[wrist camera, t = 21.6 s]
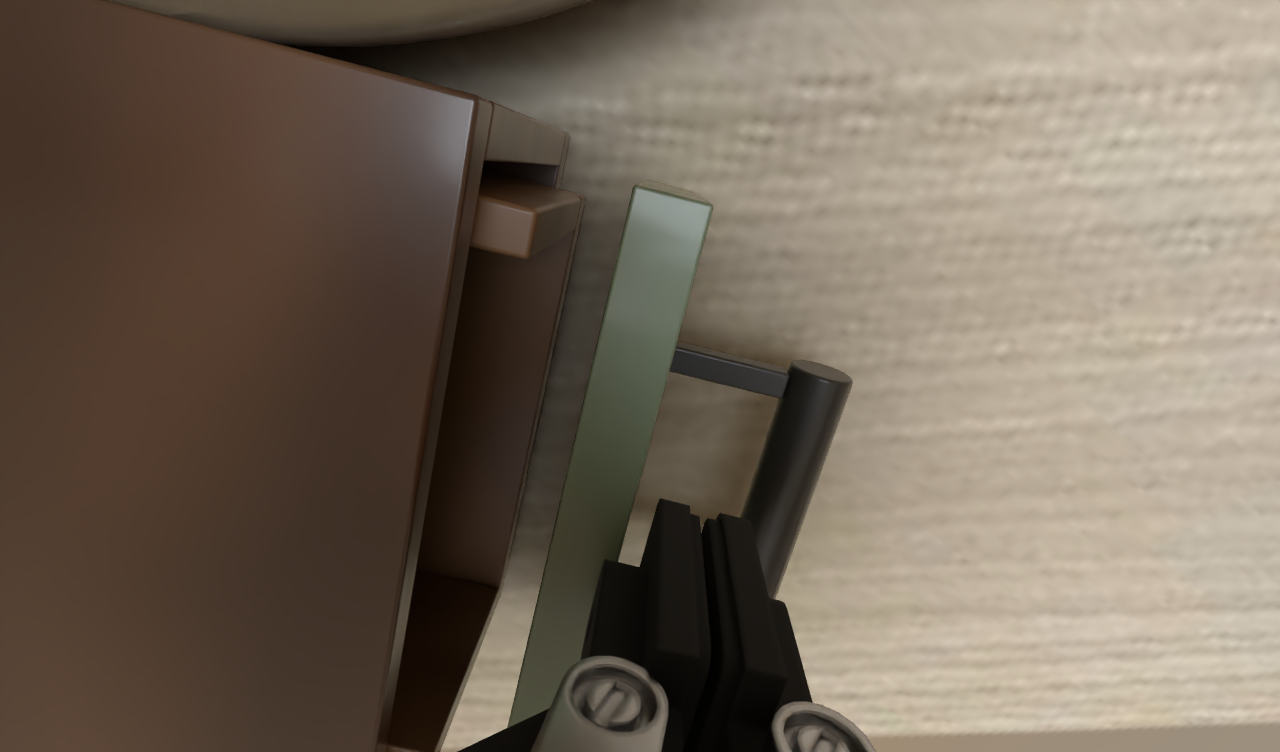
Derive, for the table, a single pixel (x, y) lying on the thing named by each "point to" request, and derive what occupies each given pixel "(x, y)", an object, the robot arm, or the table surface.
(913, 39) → the table surface
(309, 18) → the plant saucer
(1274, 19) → the table surface
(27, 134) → the cabinet
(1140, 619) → the table surface
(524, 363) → the drawer
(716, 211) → the table surface
